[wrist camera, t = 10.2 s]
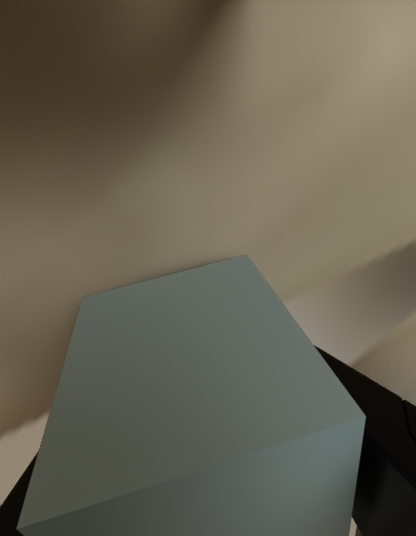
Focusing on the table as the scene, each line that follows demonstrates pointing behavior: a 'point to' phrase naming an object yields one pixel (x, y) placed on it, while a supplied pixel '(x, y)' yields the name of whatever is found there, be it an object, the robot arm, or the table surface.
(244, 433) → the block
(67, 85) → the table surface
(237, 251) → the table surface
